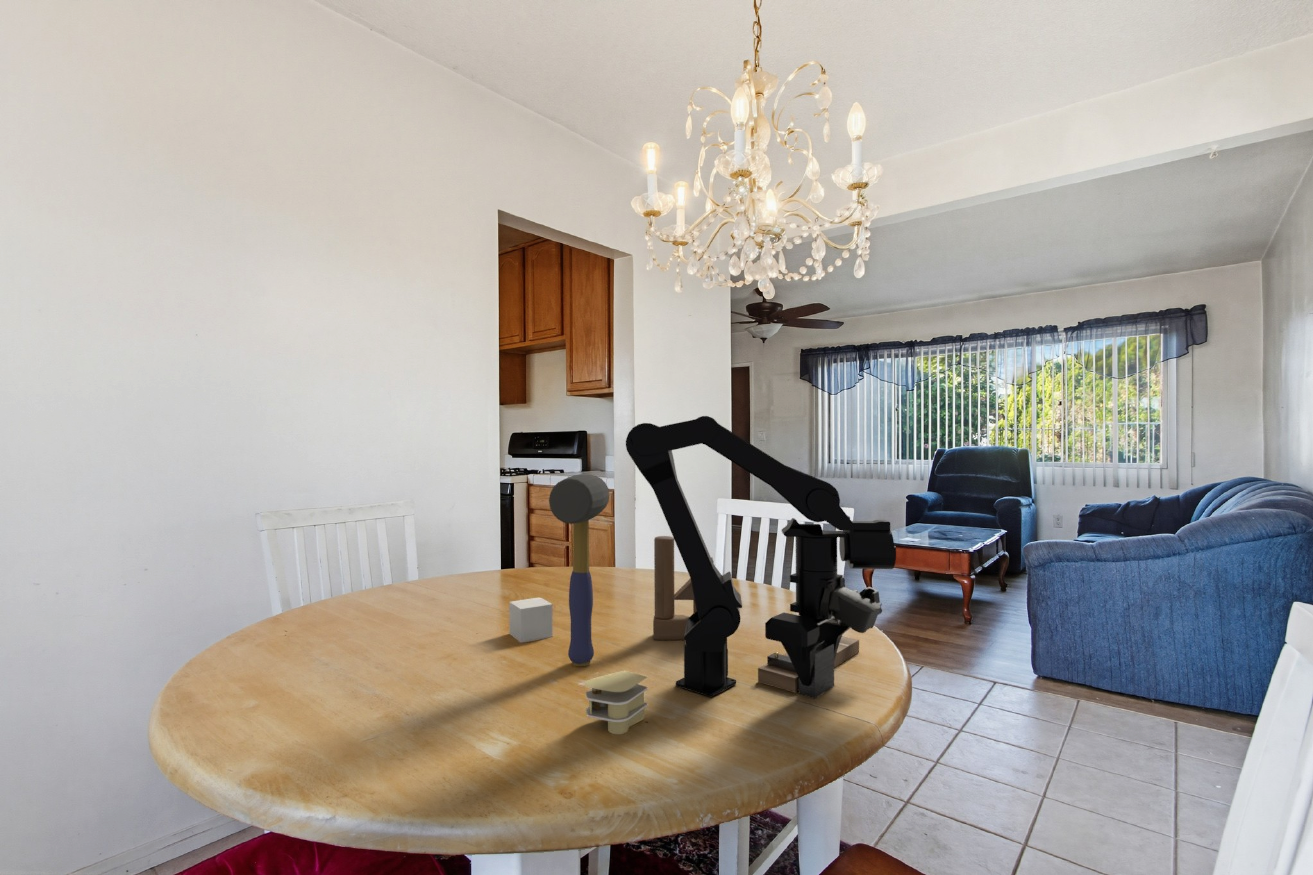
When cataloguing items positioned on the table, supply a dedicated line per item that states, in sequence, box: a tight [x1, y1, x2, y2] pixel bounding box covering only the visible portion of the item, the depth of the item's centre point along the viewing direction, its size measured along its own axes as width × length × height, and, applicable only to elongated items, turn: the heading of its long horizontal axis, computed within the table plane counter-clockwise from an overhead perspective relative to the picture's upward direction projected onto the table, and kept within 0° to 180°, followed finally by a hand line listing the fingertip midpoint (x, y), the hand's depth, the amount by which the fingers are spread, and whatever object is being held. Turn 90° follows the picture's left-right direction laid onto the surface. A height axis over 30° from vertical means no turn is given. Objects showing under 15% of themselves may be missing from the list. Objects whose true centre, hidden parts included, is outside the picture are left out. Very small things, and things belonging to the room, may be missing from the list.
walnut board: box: [757, 635, 860, 693], centre depth 95 cm, size 22×6×2 cm, turn 139°
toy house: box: [585, 669, 648, 735], centre depth 76 cm, size 10×9×6 cm
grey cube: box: [508, 597, 554, 643], centre depth 111 cm, size 6×6×6 cm
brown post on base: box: [652, 535, 715, 641], centre depth 110 cm, size 4×11×18 cm, turn 88°
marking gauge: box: [766, 641, 835, 700], centre depth 88 cm, size 6×9×6 cm
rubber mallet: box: [548, 473, 611, 667], centre depth 96 cm, size 12×8×30 cm, turn 171°
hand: (816, 678), depth 86 cm, fingers closed on marking gauge, 6 cm apart
